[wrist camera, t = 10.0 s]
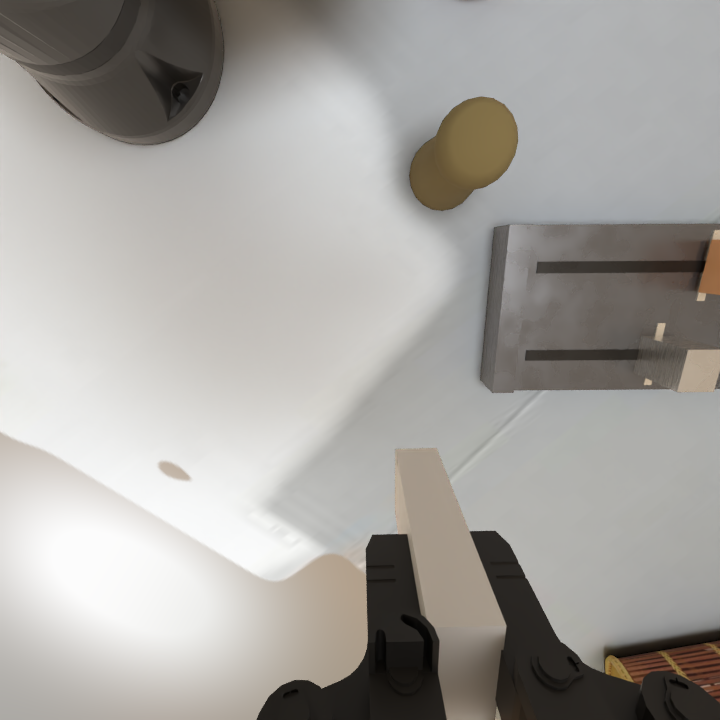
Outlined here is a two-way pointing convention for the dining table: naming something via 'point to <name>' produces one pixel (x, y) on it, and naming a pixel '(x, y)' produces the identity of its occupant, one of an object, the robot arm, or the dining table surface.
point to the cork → (464, 153)
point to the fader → (711, 270)
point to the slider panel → (601, 309)
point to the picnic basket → (673, 665)
